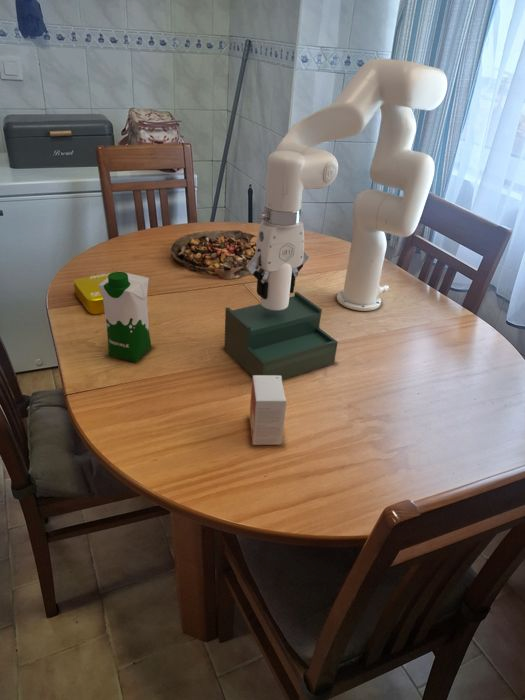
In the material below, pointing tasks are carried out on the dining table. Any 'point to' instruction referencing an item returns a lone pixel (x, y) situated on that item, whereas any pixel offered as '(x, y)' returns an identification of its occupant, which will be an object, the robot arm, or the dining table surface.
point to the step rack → (279, 339)
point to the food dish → (216, 252)
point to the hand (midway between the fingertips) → (275, 293)
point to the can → (278, 289)
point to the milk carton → (126, 315)
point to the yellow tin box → (91, 292)
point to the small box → (267, 409)
